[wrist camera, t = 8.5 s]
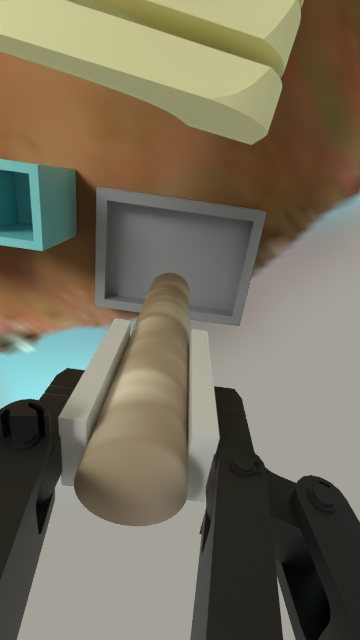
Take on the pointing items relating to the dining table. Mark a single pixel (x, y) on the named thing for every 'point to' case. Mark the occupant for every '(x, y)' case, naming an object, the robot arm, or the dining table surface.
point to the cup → (36, 205)
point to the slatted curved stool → (167, 53)
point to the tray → (175, 251)
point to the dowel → (144, 418)
